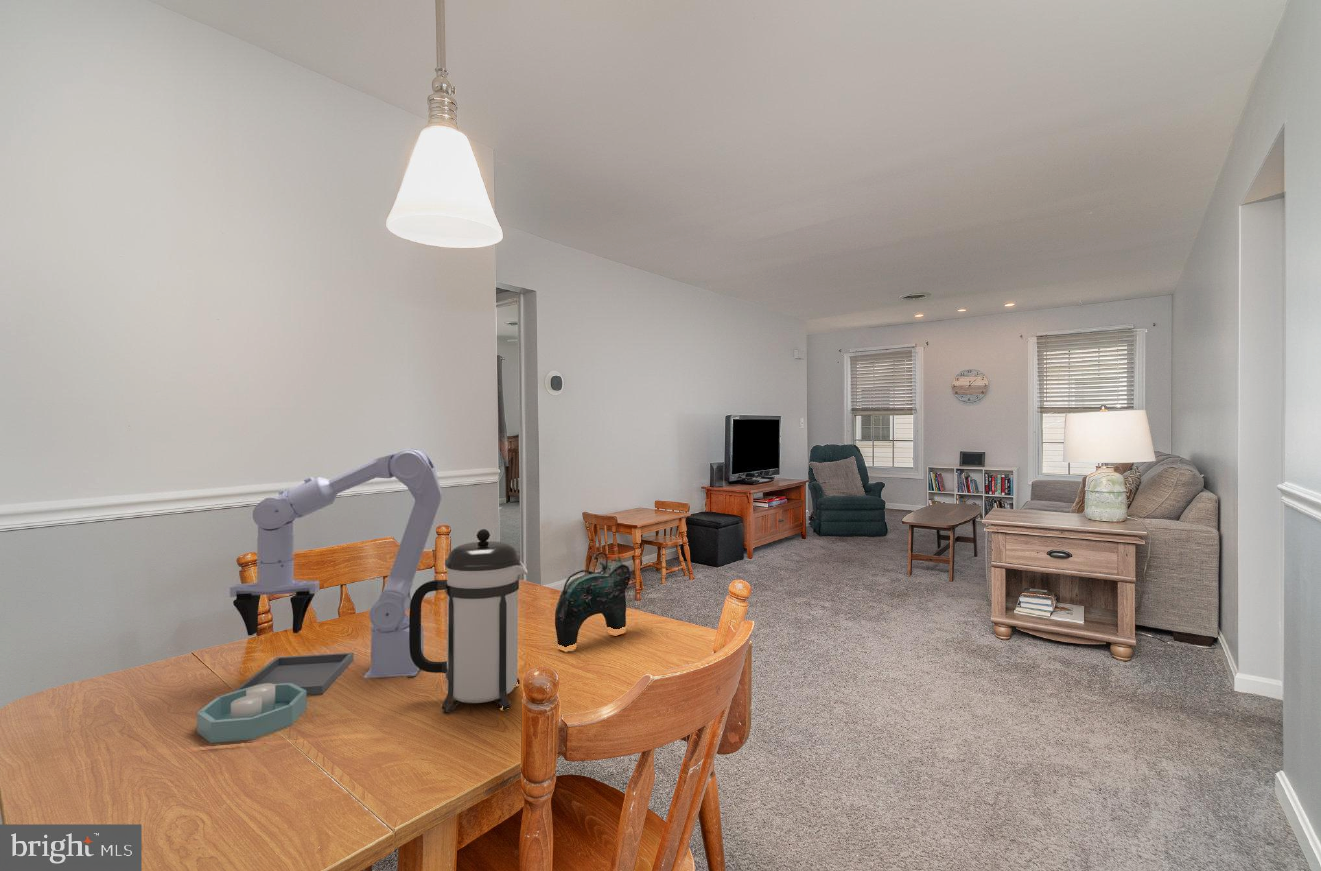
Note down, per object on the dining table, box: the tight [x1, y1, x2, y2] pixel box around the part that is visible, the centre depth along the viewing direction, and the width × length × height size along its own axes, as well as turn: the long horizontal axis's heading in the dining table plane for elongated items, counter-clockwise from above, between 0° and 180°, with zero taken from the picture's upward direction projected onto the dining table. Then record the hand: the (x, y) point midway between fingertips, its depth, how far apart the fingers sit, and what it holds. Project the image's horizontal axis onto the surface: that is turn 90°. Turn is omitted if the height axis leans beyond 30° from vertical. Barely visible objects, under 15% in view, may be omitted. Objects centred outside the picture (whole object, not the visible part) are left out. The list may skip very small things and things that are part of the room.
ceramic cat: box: [554, 551, 631, 647], centre depth 133 cm, size 20×6×20 cm, turn 136°
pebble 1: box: [231, 695, 262, 719], centre depth 92 cm, size 4×4×4 cm
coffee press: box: [408, 528, 529, 714], centre depth 103 cm, size 17×16×30 cm
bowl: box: [196, 683, 308, 747], centre depth 94 cm, size 13×13×4 cm
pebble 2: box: [246, 683, 275, 714], centre depth 97 cm, size 4×4×4 cm
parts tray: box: [232, 652, 355, 696], centre depth 110 cm, size 14×16×2 cm
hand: (275, 632), depth 110 cm, fingers open, 7 cm apart
